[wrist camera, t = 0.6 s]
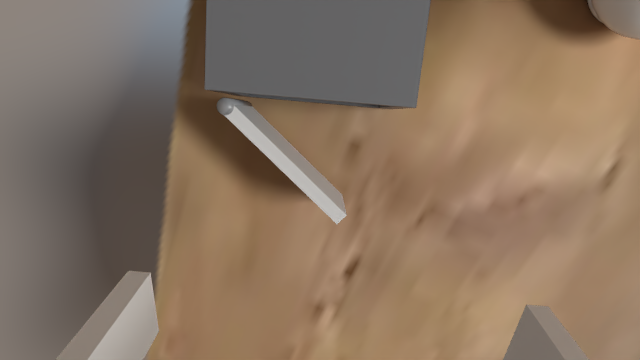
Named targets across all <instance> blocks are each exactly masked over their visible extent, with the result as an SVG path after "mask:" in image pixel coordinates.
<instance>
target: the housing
mask: <svg viewBox="0 0 640 360" xmlns="http://www.w3.org/2000/svg"><path fill="white" fill-rule="evenodd" d="M430 1H431V0H207V4H206V50H205V90H210V91H215V92H220V93H226V94H231V95H236V96H245V97H256V98H268V99H279V100H291V101H302V102H314V103H325V104H337V105H348V106H360V107H372V108H383V109H403V108H416V105H417V98H418V90H419V83H420V75H421V68H422V60H423V53H424V46H425V38H426V31H427V23H428V16H429V8H430Z"/></svg>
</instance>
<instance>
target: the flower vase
mask: <svg viewBox="0 0 640 360" xmlns="http://www.w3.org/2000/svg"><path fill="white" fill-rule="evenodd" d="M587 1H588V6H589V8H590V10H591V12H592V14H593V15H594V16H595V17H596V18H597V20H598V21H600V22H602V23H604V24H605V26H606V27H607V28H608V29H610V30H612V31H614V32H615V33H617V34H619V35H621V36H623V37H628V38H633V39H637V40H640V0H587Z"/></svg>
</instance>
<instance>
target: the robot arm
mask: <svg viewBox="0 0 640 360" xmlns="http://www.w3.org/2000/svg"><path fill="white" fill-rule="evenodd" d="M158 332H159V329H158V322H157V315H156V308H155V301H154V294H153V288H152V280H151V273H147V272H135V271H128V272H127V273H126V274H125V276H124V277H123V278H122V279H121V281H120V282H119V283H118V284H117V286H116V287H115V288H114V289H113V290H112V291H111V293H110V294H109V295H108V296H107V298H106V299H105V300H104V301H103V302H102V304H101V305H100V306H99V307H98V309H97V310H96V311H95V312H94V313H93V315H92V316H91V317H90V318H89V319H88V321H87V322H86V323H85V324H84V326H83V327H82V328H81V329H80V330H79V332H78V333H77V334H76V335H75V337H74V338H73V339H72V341H70V343H69V344H68V345H67V346H66V348H65V349H64V350H63V351H62V352H61V354H60V355H59V356H58V357H57V358H56V360H143V359H144V357H145V355H146V353H147V352H148V350H149V348H150V346H151V344H152V343H153V341H154V339H155V337H156V335H157V334H158ZM503 360H589V359H588V357H587V356H586V355H585V354H584V352H583V351H582V350H581V348H580V347H579V346H578V345H577V343H576V342H575V341H574V339H573V338H572V337H571V335H570V334H569V333H568V332H567V330H566V329H565V328H564V326H563V325H562V324H561V322H560V321H559V320H558V319H557V317H556V316H555V315H554V313H553V312H552V311H551V310H550V308H549V307H548V306H537V305H526V307H525V309H524V312H523V314H522V316H521V319H520V321H519V323H518V326H517V328H516V330H515V333H514V335H513V338H512V340H511V342H510V345H509V347H508V349H507V352H506V354H505V357H504V359H503Z"/></svg>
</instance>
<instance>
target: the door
mask: <svg viewBox="0 0 640 360" xmlns="http://www.w3.org/2000/svg"><path fill="white" fill-rule="evenodd" d="M217 110H218V111H219V113H220V114H222V115H224V116H225V117H227V118H228V119H229V120H230V121H231V122H232V123H233V124H234V125H235V126H236V127H237V128H238V129H239V130H240V131H241V132H242V133H243V134H244V135H245V136H246V137H247V138H248V139H249V140H250V141H251V142H252V143H253V144H254V145H255V146H257V147H258V148H259V149H260V150H261V151H262V152H263V153H264V154H265V155H266V156H267V157H268V158H269V159H270V160H271V161H272V162H273V163H274V164H275V165H276V166H277V167H278V168H279V169H280V170H281V171H282V172H283V173H284V174H286V175H287V176H288V177H289V178H290V179H291V180H292V181H293V182H294V183H295V184H296V185H297V186H298V187H299V188H300V189H301V190H302V191H303V192H304V193H305V194H306V195H307V196H308V197H309V198H310V199H311V200H312V201H313V202H314V203H316V204H317V205H318V206H319V207H320V208H321V209H322V210H323V211H324V212H325V213H326V214H327V215H328V216H329V217H330V218H331V219H332V220H333V221H334V222H335V223H336V224H338V223H339V222H340V221H341V220H342V219H343V218H344V217H345V216H346V210H345V205H344V201H343V196H342V194H341V193H340V192H339V191H338V190H337V189H336V188H335V187H334V186H333V185H332V184H331V183H330V182H329V181H328V180H327V179H326V178H325V177H324V176H323V175H322V174H321V173H320V172H319V171H318V170H317V169H316V168H315V167H313V166H312V165H311V164H310V163H309V162H308V161H307V160H306V159H305V158H304V157H303V156H302V155H301V154H300V153H299V152H298V151H297V150H296V149H295V148H294V147H293V146H292V145H291V144H290V143H289V142H288V141H287V140H286V139H285V138H284V137H283V136H282V135H281V134H280V133H279V132H278V131H277V130H276V129H275V128H274V127H273V126H272V125H271V124H270V123H269V122H268V121H267V120H266V119H265V118H264V117H263V116H262V115H261V114H260V113H259V112H258V111H257V110H256V109H255V108H253V107H252V104H251V103H250V102H248V101H243V100H237V99H230V98H221V99H220V100H219V101H218V102H217Z"/></svg>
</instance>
